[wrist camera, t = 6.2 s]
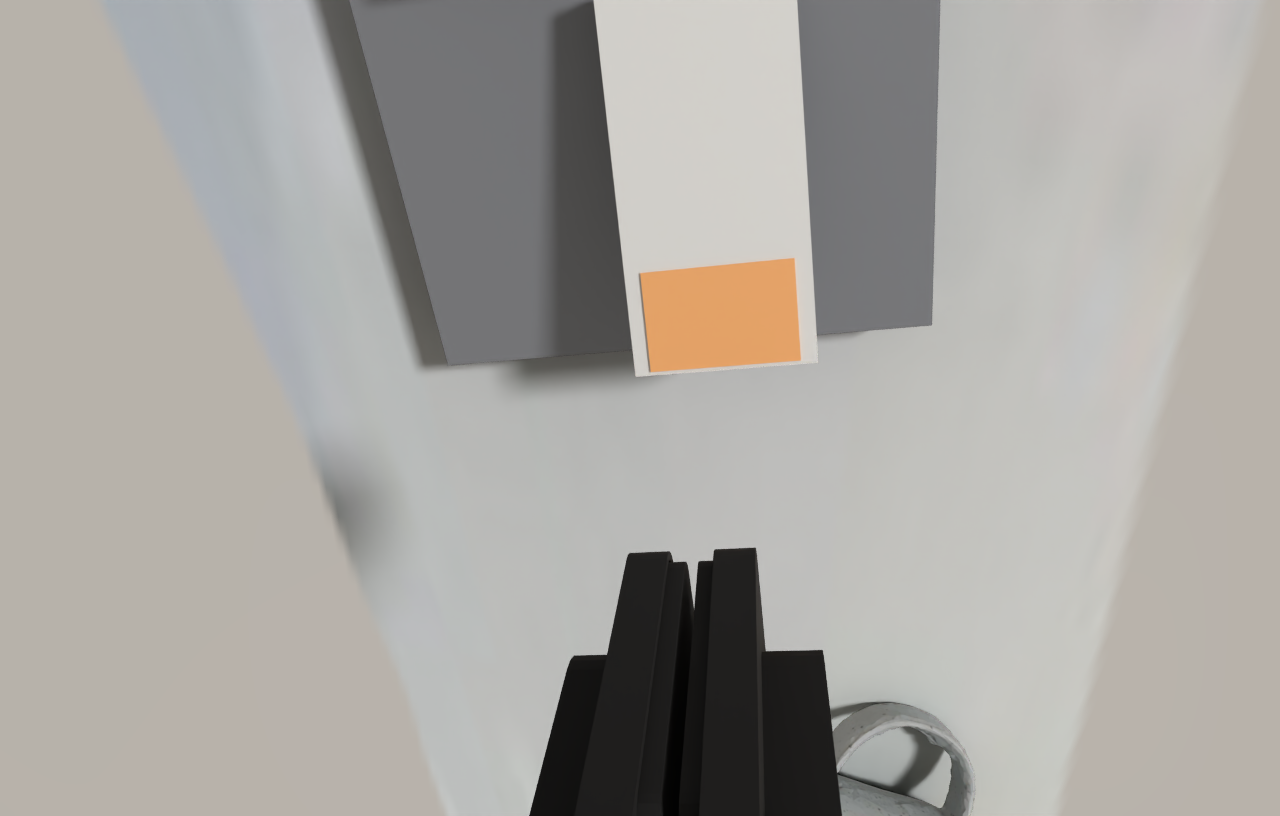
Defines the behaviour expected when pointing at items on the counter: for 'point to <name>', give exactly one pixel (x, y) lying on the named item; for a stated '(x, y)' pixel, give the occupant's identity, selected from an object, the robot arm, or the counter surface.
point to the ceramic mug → (885, 812)
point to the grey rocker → (710, 181)
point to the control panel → (583, 177)
